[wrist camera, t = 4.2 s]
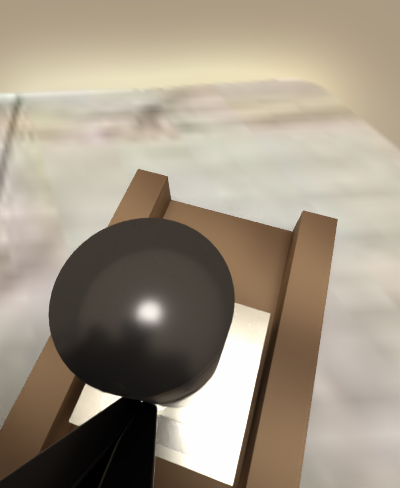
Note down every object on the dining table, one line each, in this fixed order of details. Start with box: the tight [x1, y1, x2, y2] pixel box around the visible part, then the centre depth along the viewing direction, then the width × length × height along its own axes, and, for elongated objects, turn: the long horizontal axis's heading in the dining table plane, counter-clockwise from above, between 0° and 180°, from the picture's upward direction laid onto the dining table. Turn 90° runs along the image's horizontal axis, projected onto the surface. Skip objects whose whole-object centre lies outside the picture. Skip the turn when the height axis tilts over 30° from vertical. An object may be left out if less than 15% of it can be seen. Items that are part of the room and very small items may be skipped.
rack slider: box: [49, 218, 270, 485], centre depth 10 cm, size 6×6×10 cm
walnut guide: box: [0, 169, 338, 488], centre depth 14 cm, size 14×10×3 cm
